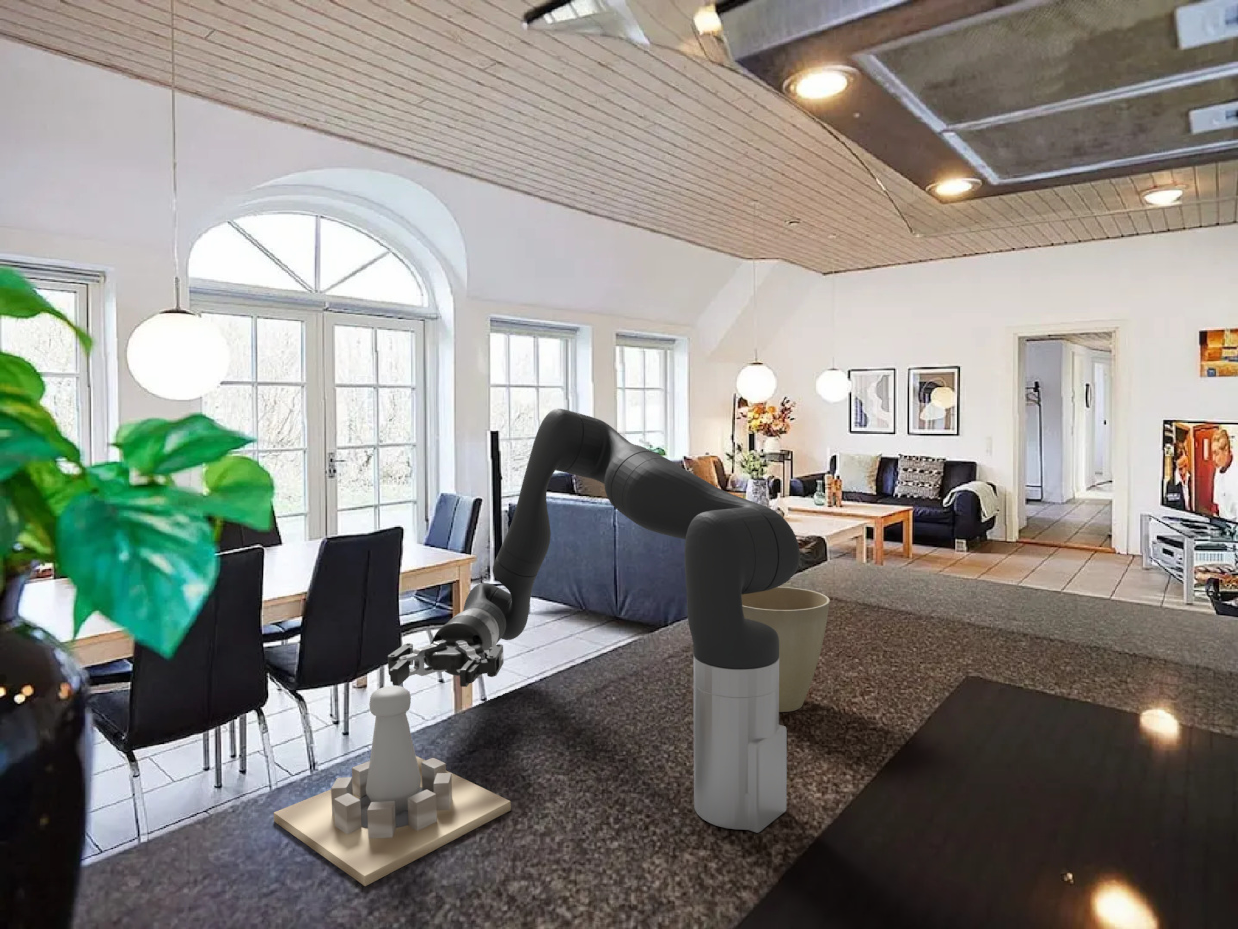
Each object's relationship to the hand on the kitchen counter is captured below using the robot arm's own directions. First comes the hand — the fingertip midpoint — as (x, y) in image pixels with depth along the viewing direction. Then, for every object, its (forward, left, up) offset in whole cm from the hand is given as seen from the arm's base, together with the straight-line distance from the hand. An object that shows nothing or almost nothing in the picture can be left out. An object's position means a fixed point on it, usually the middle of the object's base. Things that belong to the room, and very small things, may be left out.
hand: (428, 678), depth 97 cm
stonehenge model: (-6, +9, -11) cm, 16 cm away
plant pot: (-22, -46, -12) cm, 52 cm away
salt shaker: (-6, +9, -11) cm, 15 cm away
